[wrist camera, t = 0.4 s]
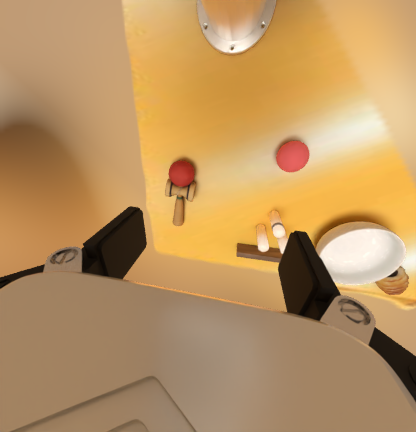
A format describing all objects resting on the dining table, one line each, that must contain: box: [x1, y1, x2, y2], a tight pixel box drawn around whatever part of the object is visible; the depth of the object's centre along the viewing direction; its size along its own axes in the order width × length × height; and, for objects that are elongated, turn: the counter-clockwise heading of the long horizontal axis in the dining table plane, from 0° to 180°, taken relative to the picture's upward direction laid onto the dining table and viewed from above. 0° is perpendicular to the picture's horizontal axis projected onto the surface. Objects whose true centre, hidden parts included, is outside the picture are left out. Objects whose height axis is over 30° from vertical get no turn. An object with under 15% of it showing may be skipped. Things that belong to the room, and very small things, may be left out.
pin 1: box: [256, 224, 269, 252], centre depth 45 cm, size 2×2×8 cm
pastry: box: [376, 267, 409, 295], centre depth 48 cm, size 9×7×4 cm
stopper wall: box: [237, 243, 283, 263], centre depth 50 cm, size 2×16×4 cm, turn 88°
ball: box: [276, 141, 309, 172], centre depth 36 cm, size 6×6×6 cm
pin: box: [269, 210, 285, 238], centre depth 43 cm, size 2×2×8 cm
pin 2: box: [277, 229, 288, 254], centre depth 44 cm, size 2×2×8 cm
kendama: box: [165, 160, 196, 226], centre depth 46 cm, size 8×6×18 cm
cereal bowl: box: [315, 221, 406, 285], centre depth 43 cm, size 17×17×7 cm
